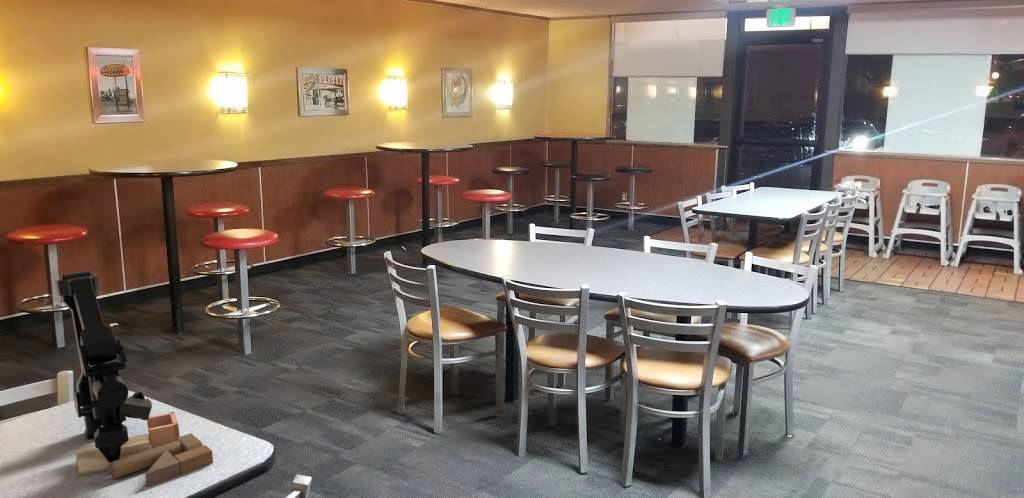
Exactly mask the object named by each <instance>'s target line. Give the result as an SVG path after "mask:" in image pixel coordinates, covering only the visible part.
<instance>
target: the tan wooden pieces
mask: <svg viewBox="0 0 1024 498" xmlns="http://www.w3.org/2000/svg"><path fill="white" fill-rule="evenodd" d="M213 455H214V454H213V450H212V449H211V448H210V447H208V446H207V445H205V444H204V445H203V442H202V441H201V440H200V438H198V437H197V436H196V435H194V434H193V433H192V432H191V433H187V434H185V435H182V436H180V437H178V438H176V441H174V442H171V443H168V444H165V445H162V446H159V447H156V448H153V449H150V450H147V451H144V452H140V453H137V454H134V455H131V456H128V457H125V458H122V459H119V460H116V461H113V462H111V463H109V470H108V471H109V473H110V476H111V478H112V479H114V480H115V479H119V478H121V477H125V476H127V475H130V474H133V473H136V472H139V471H141V470H142V471H143V470H145V469H148V470H147V472H145V474H144V475H145V483H146V484H145V485H146V488H147V487H151V486H155V485H156V484H159V483H162V482H164V481H167V480H170V479H173V478H175V477H179V476H181V475H185V474H188V473H190V472H193V471H195V470H198V469H201V468H203V467H206V466H208V465H211V464H214V460H213V458H214V457H213Z"/></svg>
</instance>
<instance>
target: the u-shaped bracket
mask: <svg viewBox="0 0 1024 498" xmlns="http://www.w3.org/2000/svg"><path fill="white" fill-rule="evenodd" d="M146 424H147V432H148V434H149V439H150V440H151V448H152V449H153V448H156V447H159V446H162V445H165V444H168V443H171V442H174V441H176V438H178V437H181V436H180V428H179V422H178V419H177V416H176V412H175V411H171V412H166V413H161V414H155V415H149V419H148V420H146Z"/></svg>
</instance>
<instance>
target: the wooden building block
mask: <svg viewBox="0 0 1024 498" xmlns="http://www.w3.org/2000/svg"><path fill="white" fill-rule="evenodd" d="M144 435H145V434H144ZM139 436H140V435H139ZM134 437H135V436H134ZM129 438H130V437H129ZM91 446H92V445H91ZM82 448H83V447H82ZM77 449H78V448H77ZM147 450H150V446H149V439H148V435H145V436H140V437H135V438H130V439H129V441H128V442H126V443H124V444H123V445H122V446H121V451H120V459H122V458H125V457H128V456H131V455H134V454H137V453H140V452H144V451H147ZM77 463H78V470H79V475H80V474H85V473H89V472H94V471H98V470H102V469H107V468H109V462H108V461H107V459H106V458H105V457H104V455H103V454H102V453H101V452H100V450H99V449H98V448H96V447H95V446H92V447H88V448H83V449H78V450H77Z"/></svg>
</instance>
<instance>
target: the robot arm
mask: <svg viewBox="0 0 1024 498" xmlns="http://www.w3.org/2000/svg"><path fill="white" fill-rule="evenodd" d="M99 279H100V278H99V275H98V274H97V273H94V274H91V271H90V270H83V271H74V272H69V273H61V274H60V277H59V279H55V289H56V293H57V295H58V296H59V297H61V298H60V299H61V302H62V303H63V304H64V305H65V306H66V307H67V308H68V310H70V313H71V317H72V323H73V329H74V335H75V341H76V345H77V346H76V347H77V352H78V359H79V364H80V370H81V373H80V374H79V378H78V380H77V382H76V384H75V387H76V392H74V399H73V400H74V408H75V412H76V415H77V416H78V418H82V417H83V418H84V419H83V420H84V425H85V430H84V441H91V440H94V445H95V447H96V448H98V449H99V450H100V452H101V453H102V454H103V455H104V457H105V458H106V459H107V461H108V462H109V463H111V462H113V461H116V460H119V459H120V451H121V446H122V445H123V444H124V443H126V442H128V441H129V438H130V437H129V431H128V426H126V425H125V424H123V423H124V422H126V421H127V418H128V419H137V420H142V421H147V420H148V419H149V417H150V416H151V412H152V408H153V404H152V401H151V399H150V398H148V397H147V398H146V397H145V393H144V391H138V390H136V391H135V392H134V394H132V396H129V389H128V387H127V385H126V383H124V380H123V379H122V378H121V376H120V374H119V370H120V371H121V370H125V369H126V368H127V367H126V363H128V359H127V355H126V351H125V348H124V345H123V342H122V341H121V339H120V338H118V337H116V335H115V333H114V330H113V328H112V327H110V326H109V325H107V324H105V321H104V318H103V315H102V311H101V309H100V305H99V301H98V298H97V296H98V293H97V292H98V291H100V290H101V285H100V280H99ZM117 359H118V360H119V361H118V360H117Z"/></svg>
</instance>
